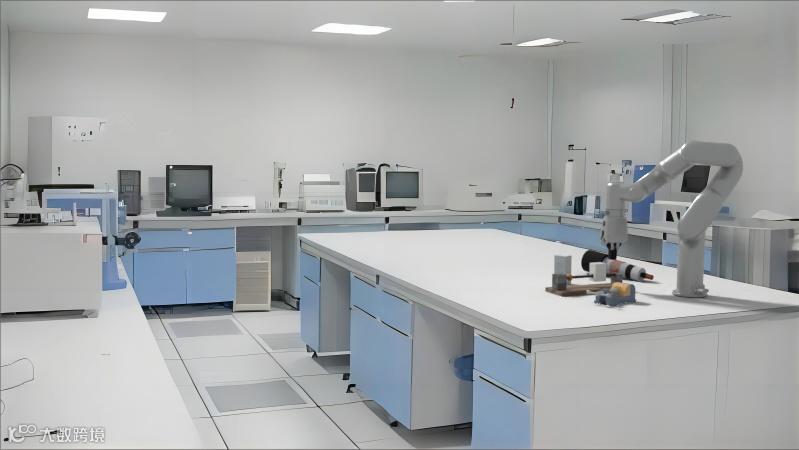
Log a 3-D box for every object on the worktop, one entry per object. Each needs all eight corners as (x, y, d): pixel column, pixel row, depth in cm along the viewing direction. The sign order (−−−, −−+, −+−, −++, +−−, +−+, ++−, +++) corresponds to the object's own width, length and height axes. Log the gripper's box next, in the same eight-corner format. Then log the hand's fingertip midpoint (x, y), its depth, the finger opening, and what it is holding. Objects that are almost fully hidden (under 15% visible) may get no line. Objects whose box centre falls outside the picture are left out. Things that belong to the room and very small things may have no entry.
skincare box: (571, 284, 323) (572, 255, 321) (565, 285, 320) (565, 256, 319) (559, 282, 327) (560, 254, 326) (553, 283, 324) (553, 254, 323)
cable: (647, 293, 325) (643, 274, 321) (583, 275, 351) (579, 257, 347) (661, 281, 330) (657, 261, 326) (597, 263, 356) (593, 245, 352)
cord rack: (627, 291, 305) (628, 272, 304) (561, 296, 295) (562, 276, 294) (609, 286, 316) (609, 268, 316) (545, 291, 306) (545, 272, 305)
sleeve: (605, 281, 306) (606, 263, 305) (595, 281, 304) (595, 264, 303) (599, 279, 310) (600, 262, 309) (589, 280, 308) (589, 262, 307)
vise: (616, 298, 292) (616, 280, 292) (639, 302, 284) (640, 284, 284) (585, 303, 281) (585, 285, 281) (608, 308, 273) (609, 289, 273)
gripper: (604, 214, 301) (602, 261, 303) (636, 214, 306) (633, 260, 308) (593, 212, 308) (590, 258, 310) (624, 212, 313) (622, 257, 315)
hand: (612, 259), depth 309 cm, fingers closed
